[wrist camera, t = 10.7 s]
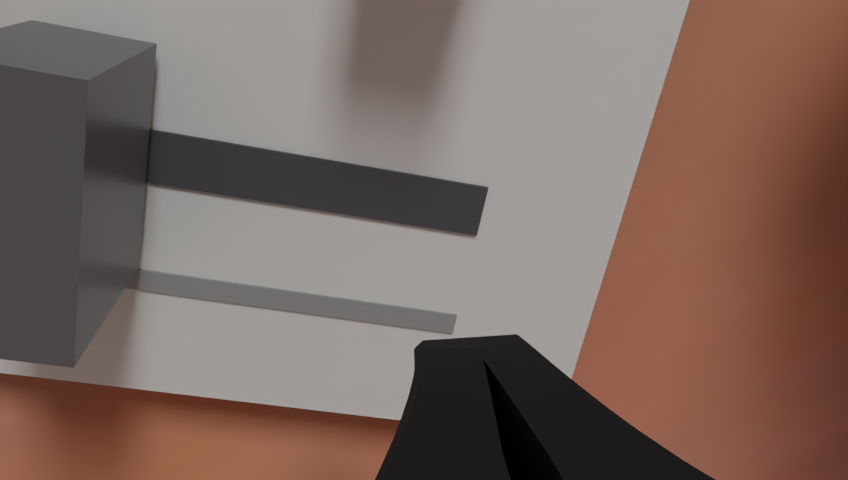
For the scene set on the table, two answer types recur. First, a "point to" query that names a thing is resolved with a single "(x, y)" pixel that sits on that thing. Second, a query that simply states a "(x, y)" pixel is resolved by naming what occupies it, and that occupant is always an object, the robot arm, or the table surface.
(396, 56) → the mixer plate
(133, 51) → the fader
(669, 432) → the table surface
